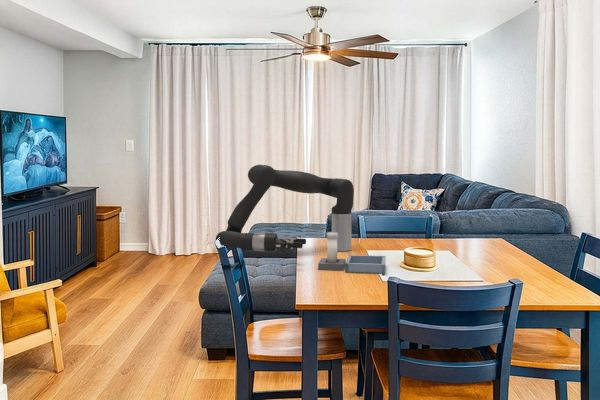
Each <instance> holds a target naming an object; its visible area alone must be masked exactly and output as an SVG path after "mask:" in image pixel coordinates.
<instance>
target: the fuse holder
mask: <svg viewBox="0 0 600 400" xmlns="http://www.w3.org/2000/svg"><path fill="white" fill-rule="evenodd" d="M346 261H347V259H346V258H337V262H338V263H327V257H326V258H324V257H321V258H320V260H319V262H318V263H317V266H318V267H317V270H318V271H337V272H339V271H340V272H341V271H342V272H345V263H346Z"/></svg>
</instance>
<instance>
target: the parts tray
mask: <svg viewBox="0 0 600 400" xmlns="http://www.w3.org/2000/svg"><path fill="white" fill-rule="evenodd" d="M344 272H345V273H346V274H371V275H372V274H374V275H375V274H378V275H380V274H381V276H385V274H386V255H367V254H365V255H363V254H361V255H360V254H359V255H358V254H348V256H347V259H346V263H345V268H344Z"/></svg>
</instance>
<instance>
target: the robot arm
mask: <svg viewBox="0 0 600 400" xmlns="http://www.w3.org/2000/svg"><path fill="white" fill-rule="evenodd" d="M247 178H248V180H249V182H250V183H251V184H252V185H251V188H250V189H249V191H248V193H246V195H245V196H244V197H242V199H241V200H240V201H239V202H238V204H236V206H235V207H234V209H233V210H232V212H231V214H230V215H229V218H228V220H227V227H226V230H223V231H220V232H219V233H217V235H216V236H215V241H216V240H217V239H218V238H219V237H220V238H219V239H220V240H219V239H218V240H219V241H220V242H221V244H222V245H224V246H226V248H227V249H228V252H229V251H232V250H234V249H240V250H244V251H257V252H270V253H271V252H273V253H275V252H276V251H278V250H292V249H303V247H304V245H306V244H307V239H306V238H297V236H281V238H278V234H277V233H276V232H274V233H273V232H255V233H253V232H250V233H249V232H242V231H243V228H244V227H245V226H246V223H247V222H248V221H249V218H250V216H251V214H252V213H253V211H254V209H255V208H256V206H257V205H258V204H259V202H260V201H261V200H262V198H263V197H264V195H265V194H266V193H267V191H269V190H270V188H271V187H275V188H281V189H284V190H287V191H291V192H294V193H295V192H296V193H302V194H320V195H321V194H322V195H325V196H329V197H332V198H334V199H335V198H336V204H335V205H333V206H332V207H331V232H337V233H338V238H337V252H348V251H351V250H352V209H353V207H354V197H355V196H354V194H355V190H354V184H353V182H352V181H351V180H350V179H346V178H338V177H337V178H336V177H335V178H333V177H332V178H331V177H330V178H327V177H321V176H318V175H316V174H314V173H309V172H306V171H299V170H280V169H274V168H273V167H272V166H270V165H267V164H256V165H253V166H252V167H251V168H249V170H248V173H247Z"/></svg>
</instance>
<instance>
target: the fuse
mask: <svg viewBox="0 0 600 400" xmlns="http://www.w3.org/2000/svg"><path fill="white" fill-rule="evenodd" d="M337 238H338V233H337V232H332V231H329V232H326V246H327V247H326V250H327V251H326V253H327V255H326V258H327V263H338V262H337V259H338V251H337Z"/></svg>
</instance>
